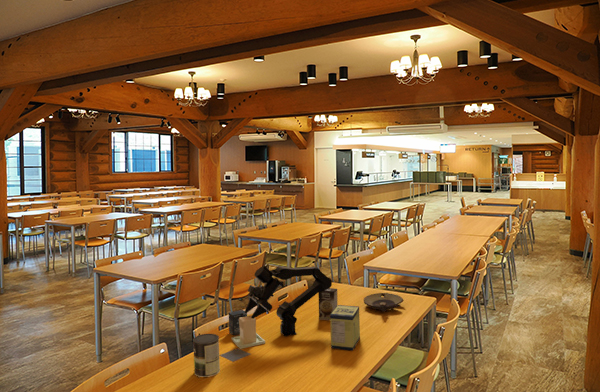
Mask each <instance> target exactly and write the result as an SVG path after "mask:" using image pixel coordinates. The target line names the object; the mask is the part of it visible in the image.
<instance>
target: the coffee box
mask: <svg viewBox="0 0 600 392" xmlns="http://www.w3.org/2000/svg"><path fill="white" fill-rule="evenodd" d="M317 294H318V320H321V321H323V320H325V321H330V315H331V313H332V312H333V311H334V310H335V309H336V307H337V306H338V288H333V287H330V288H329V289H327V290H325V291H322V292H319V293H317Z"/></svg>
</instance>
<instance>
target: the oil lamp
mask: <svg viewBox="0 0 600 392" xmlns="http://www.w3.org/2000/svg"><path fill="white" fill-rule="evenodd" d="M403 298H404V297H402V296H400V295H398V294H395V293H388V292H378V293H377V292H376V293H371V294H369V295H366V296H365V297H364V298H363V303H364V304H365V305H366V306H368V307H370V308H372V309H375V310H379V311H381V312H386V311H388V310H389V311H390V310H392V309H396V308H398V307H400V306H401V303H403V302H404V299H403Z"/></svg>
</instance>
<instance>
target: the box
mask: <svg viewBox="0 0 600 392" xmlns="http://www.w3.org/2000/svg"><path fill="white" fill-rule="evenodd" d="M246 316H248V312H247V313H245V309H239V310H235V311H229V312H228V334H230V335H232V336H239V335H240V325H239V318H240V317H246Z"/></svg>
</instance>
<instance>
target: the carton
mask: <svg viewBox="0 0 600 392" xmlns="http://www.w3.org/2000/svg"><path fill="white" fill-rule="evenodd" d="M251 316H252V315H247V316H246V317H240V318H239V325H240V334H239V336H240V341H241V342H242V343H243V344H244V345H245V344H250V343H254V342H256V333H257V320H256V319H257V318H256V317H255V318H253V319H252V318H251Z"/></svg>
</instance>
